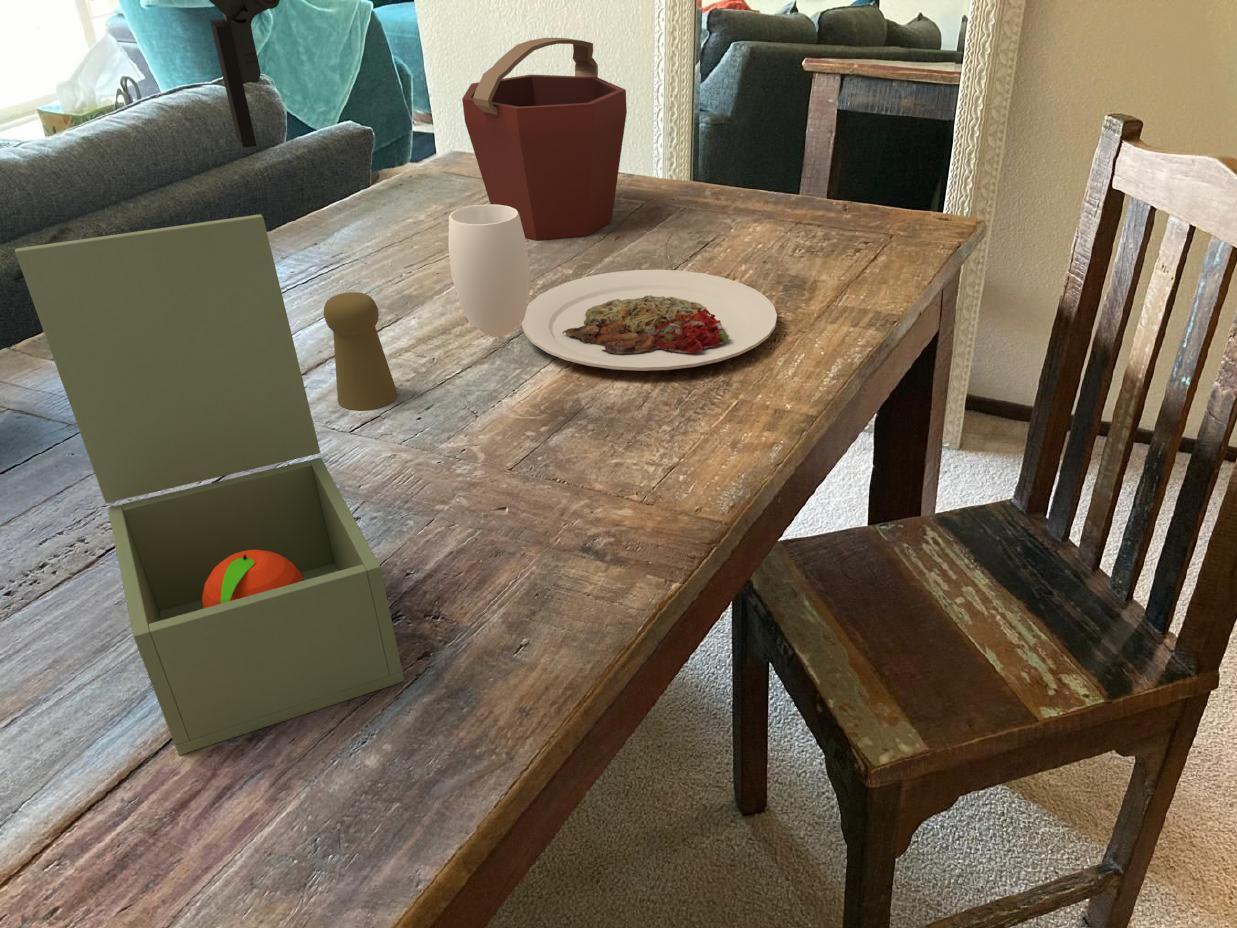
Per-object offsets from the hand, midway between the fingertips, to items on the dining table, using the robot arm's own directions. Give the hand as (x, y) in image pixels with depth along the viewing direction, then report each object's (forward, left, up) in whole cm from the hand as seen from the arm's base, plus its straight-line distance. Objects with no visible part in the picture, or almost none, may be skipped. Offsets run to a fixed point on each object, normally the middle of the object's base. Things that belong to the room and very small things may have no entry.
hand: (122, 155), depth 63 cm
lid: (-6, 0, -15) cm, 16 cm away
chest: (+3, 0, -34) cm, 35 cm away
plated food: (-37, +51, -35) cm, 72 cm away
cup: (-23, +28, -35) cm, 50 cm away
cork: (-35, +17, -35) cm, 52 cm away
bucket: (-80, +57, -35) cm, 104 cm away
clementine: (+3, 0, -34) cm, 34 cm away
